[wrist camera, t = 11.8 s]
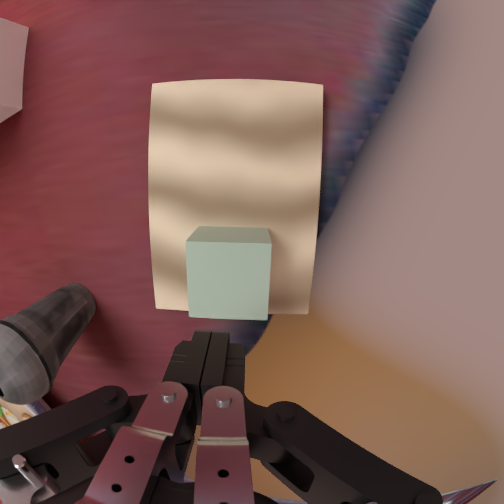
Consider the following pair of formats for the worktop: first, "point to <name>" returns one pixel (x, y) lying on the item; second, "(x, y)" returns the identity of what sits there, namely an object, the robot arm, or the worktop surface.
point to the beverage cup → (41, 342)
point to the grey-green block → (228, 272)
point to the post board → (235, 177)
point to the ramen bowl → (20, 411)
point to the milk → (11, 66)
